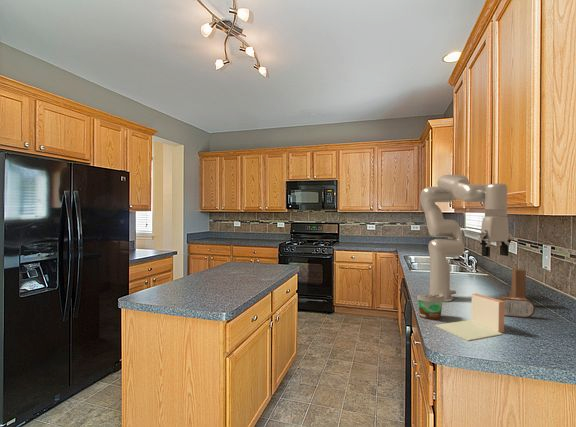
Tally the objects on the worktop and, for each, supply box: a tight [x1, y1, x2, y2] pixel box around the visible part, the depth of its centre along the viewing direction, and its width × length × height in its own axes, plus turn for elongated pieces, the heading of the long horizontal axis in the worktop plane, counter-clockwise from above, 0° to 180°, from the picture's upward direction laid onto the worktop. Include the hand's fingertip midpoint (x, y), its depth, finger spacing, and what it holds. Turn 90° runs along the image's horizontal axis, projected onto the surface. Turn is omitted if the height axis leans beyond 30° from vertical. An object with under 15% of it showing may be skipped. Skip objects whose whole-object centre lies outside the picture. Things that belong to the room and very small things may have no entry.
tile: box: [470, 292, 505, 334], centre depth 125 cm, size 3×12×12 cm, turn 20°
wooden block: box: [506, 268, 527, 298], centre depth 156 cm, size 9×4×18 cm, turn 166°
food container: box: [416, 293, 444, 321], centre depth 135 cm, size 12×6×10 cm, turn 105°
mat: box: [434, 319, 503, 342], centre depth 122 cm, size 18×15×1 cm
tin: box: [497, 295, 536, 319], centre depth 138 cm, size 15×3×8 cm, turn 75°
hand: (494, 255), depth 127 cm, fingers open, 9 cm apart
